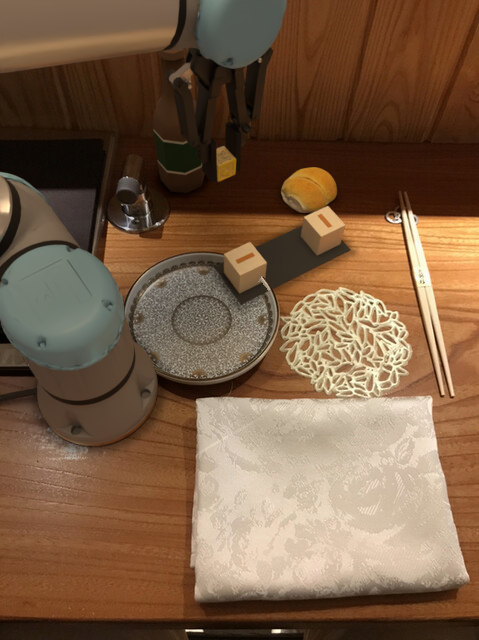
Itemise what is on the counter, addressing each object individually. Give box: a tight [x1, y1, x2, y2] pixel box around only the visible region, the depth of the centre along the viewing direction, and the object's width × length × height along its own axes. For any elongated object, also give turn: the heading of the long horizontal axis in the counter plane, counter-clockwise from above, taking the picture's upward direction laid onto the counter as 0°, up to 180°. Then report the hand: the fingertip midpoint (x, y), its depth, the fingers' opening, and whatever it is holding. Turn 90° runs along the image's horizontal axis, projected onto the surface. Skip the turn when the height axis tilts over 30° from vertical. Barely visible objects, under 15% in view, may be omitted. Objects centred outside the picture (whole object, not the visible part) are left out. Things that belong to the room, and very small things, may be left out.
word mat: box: [213, 224, 352, 305], centre depth 86 cm, size 20×8×1 cm, turn 121°
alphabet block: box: [216, 145, 237, 183], centre depth 78 cm, size 3×3×3 cm
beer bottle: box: [152, 48, 206, 194], centre depth 85 cm, size 8×8×24 cm
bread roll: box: [280, 166, 338, 214], centre depth 92 cm, size 8×9×4 cm
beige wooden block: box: [301, 205, 346, 255], centre depth 86 cm, size 4×4×5 cm
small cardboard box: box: [223, 241, 267, 293], centre depth 82 cm, size 4×4×5 cm
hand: (221, 170), depth 79 cm, fingers closed on alphabet block, 3 cm apart
